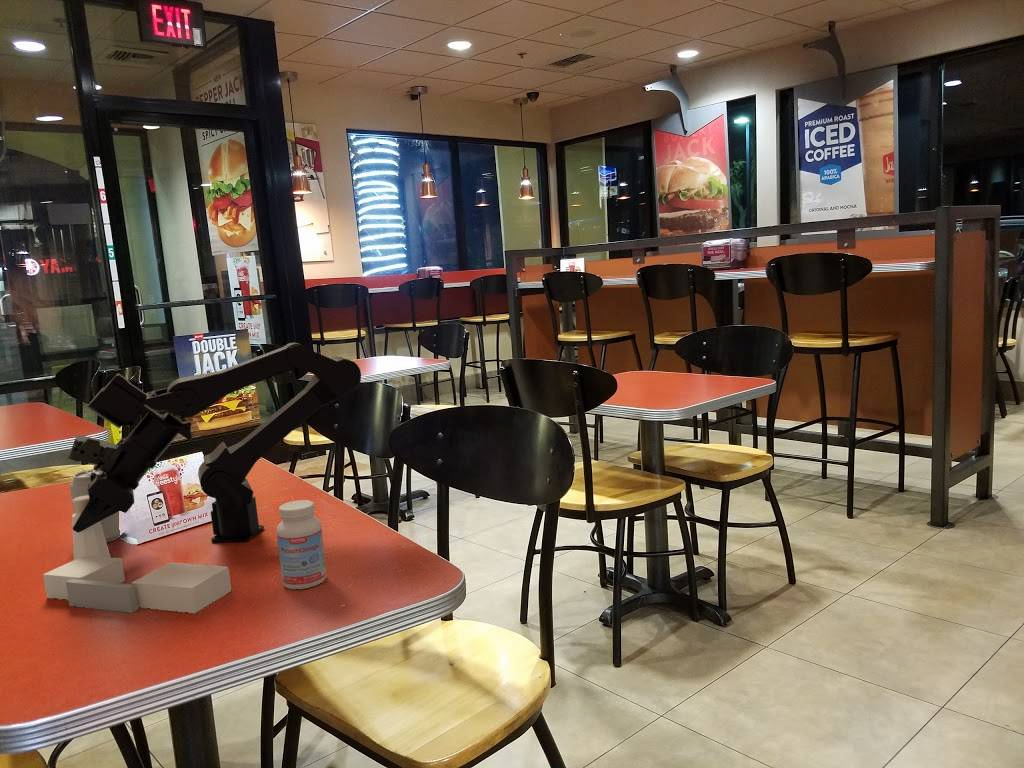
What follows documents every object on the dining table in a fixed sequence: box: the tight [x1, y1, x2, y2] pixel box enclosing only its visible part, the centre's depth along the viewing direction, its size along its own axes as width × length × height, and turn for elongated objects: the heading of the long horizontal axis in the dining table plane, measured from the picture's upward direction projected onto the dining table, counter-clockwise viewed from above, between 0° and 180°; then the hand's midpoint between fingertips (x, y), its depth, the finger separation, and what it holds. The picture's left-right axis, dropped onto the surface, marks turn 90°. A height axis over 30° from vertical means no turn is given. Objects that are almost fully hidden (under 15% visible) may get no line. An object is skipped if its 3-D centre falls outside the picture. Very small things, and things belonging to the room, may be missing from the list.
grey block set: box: [42, 556, 232, 614], centre depth 105 cm, size 26×8×4 cm, turn 71°
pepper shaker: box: [71, 495, 111, 561], centre depth 118 cm, size 5×5×11 cm
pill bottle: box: [276, 499, 327, 590], centre depth 105 cm, size 6×6×11 cm
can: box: [69, 468, 120, 543], centre depth 130 cm, size 8×8×12 cm
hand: (76, 526), depth 117 cm, fingers open, 4 cm apart
